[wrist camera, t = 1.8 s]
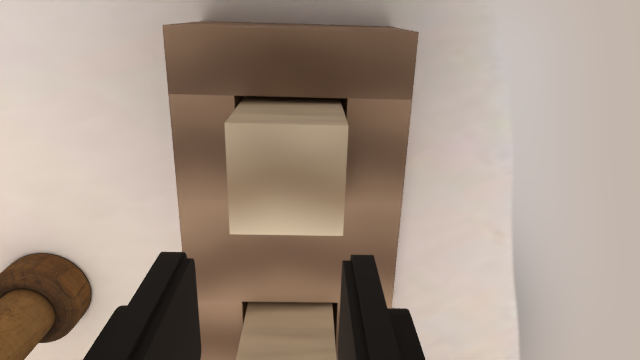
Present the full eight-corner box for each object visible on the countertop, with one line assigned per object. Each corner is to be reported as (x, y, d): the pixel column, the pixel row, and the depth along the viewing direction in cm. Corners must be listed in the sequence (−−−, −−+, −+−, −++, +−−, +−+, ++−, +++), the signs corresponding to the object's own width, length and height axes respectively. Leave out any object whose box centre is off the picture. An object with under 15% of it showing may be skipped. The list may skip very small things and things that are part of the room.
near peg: (249, 90, 26) (224, 123, 18) (337, 92, 26) (348, 125, 18) (251, 173, 28) (229, 234, 20) (334, 174, 28) (343, 235, 20)
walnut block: (201, 21, 29) (162, 25, 21) (390, 26, 29) (418, 32, 22) (219, 333, 37) (196, 415, 30) (366, 334, 37) (380, 416, 30)
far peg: (254, 273, 30) (235, 361, 22) (330, 274, 30) (336, 362, 23) (255, 335, 32) (238, 436, 24) (327, 336, 32) (332, 436, 24)
